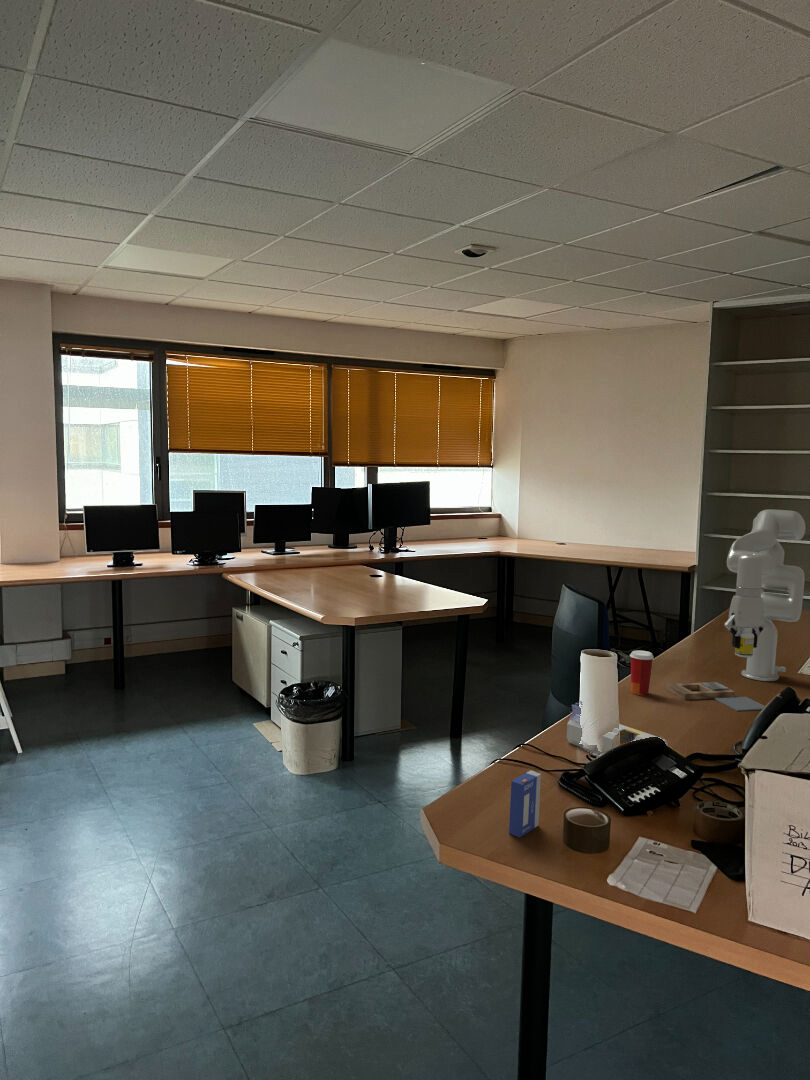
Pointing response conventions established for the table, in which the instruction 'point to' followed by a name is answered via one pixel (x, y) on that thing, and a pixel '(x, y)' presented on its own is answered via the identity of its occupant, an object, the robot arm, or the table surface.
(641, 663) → the paper cup
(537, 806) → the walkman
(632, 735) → the diorama
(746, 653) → the supplement bottle
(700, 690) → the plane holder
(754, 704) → the rubber mat
